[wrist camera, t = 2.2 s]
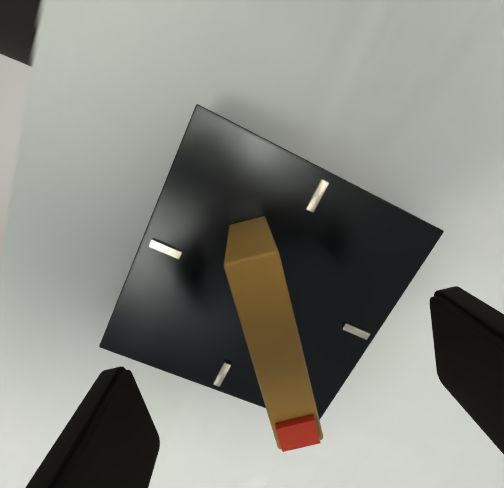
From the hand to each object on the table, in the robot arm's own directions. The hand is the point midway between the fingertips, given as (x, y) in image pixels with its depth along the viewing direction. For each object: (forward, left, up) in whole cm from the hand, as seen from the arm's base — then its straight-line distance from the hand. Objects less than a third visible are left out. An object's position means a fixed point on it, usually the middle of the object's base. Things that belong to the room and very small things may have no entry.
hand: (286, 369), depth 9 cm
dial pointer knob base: (0, 0, -8) cm, 8 cm away
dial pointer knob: (0, 0, -5) cm, 5 cm away
